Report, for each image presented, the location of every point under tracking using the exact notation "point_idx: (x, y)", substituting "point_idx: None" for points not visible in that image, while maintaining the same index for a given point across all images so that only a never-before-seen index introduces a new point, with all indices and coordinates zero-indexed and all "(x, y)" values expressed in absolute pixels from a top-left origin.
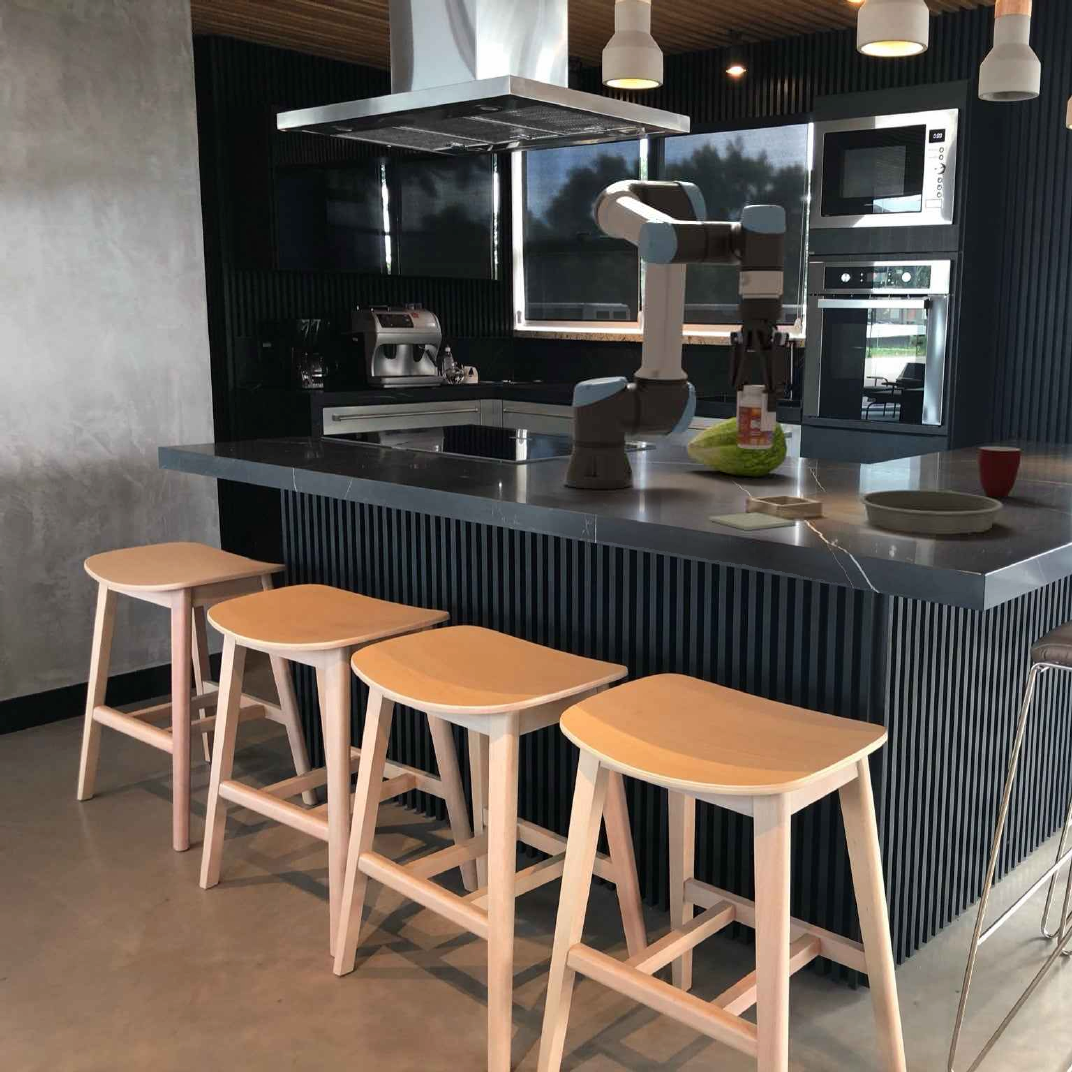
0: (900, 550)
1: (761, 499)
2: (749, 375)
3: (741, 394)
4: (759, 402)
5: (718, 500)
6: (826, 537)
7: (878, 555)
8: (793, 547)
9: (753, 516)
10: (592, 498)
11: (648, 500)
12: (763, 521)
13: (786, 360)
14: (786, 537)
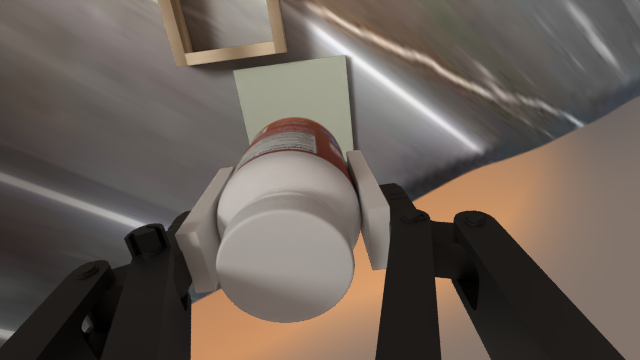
0: (599, 18)
1: (179, 30)
2: (170, 308)
3: (215, 274)
4: (353, 248)
5: (36, 45)
6: (457, 70)
7: (598, 79)
8: (487, 161)
9: (272, 100)
10: (8, 252)
11: (33, 177)
12: (323, 110)
13: (607, 352)
14: (426, 132)
